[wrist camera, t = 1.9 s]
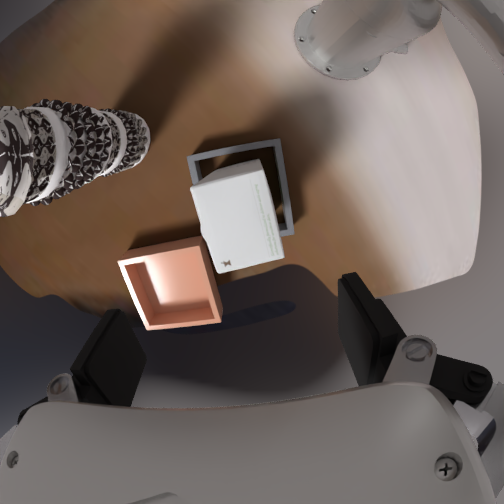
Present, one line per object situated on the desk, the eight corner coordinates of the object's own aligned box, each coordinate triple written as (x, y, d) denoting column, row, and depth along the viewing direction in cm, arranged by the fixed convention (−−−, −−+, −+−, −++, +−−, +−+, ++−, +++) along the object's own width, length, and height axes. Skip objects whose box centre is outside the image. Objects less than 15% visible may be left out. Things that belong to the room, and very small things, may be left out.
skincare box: (273, 214, 38) (289, 262, 24) (227, 225, 39) (216, 279, 25) (259, 155, 35) (267, 167, 21) (210, 167, 36) (186, 188, 21)
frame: (277, 138, 34) (279, 138, 31) (291, 227, 39) (294, 234, 36) (191, 155, 35) (186, 156, 32) (211, 241, 40) (208, 249, 37)
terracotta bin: (203, 235, 39) (199, 245, 36) (223, 307, 44) (221, 322, 41) (127, 250, 40) (117, 261, 36) (153, 316, 45) (147, 330, 41)
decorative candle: (166, 141, 34) (45, 158, 11) (121, 185, 36) (-4, 255, 13) (128, 96, 31) (-6, 72, 8) (87, 142, 33) (-49, 172, 10)
